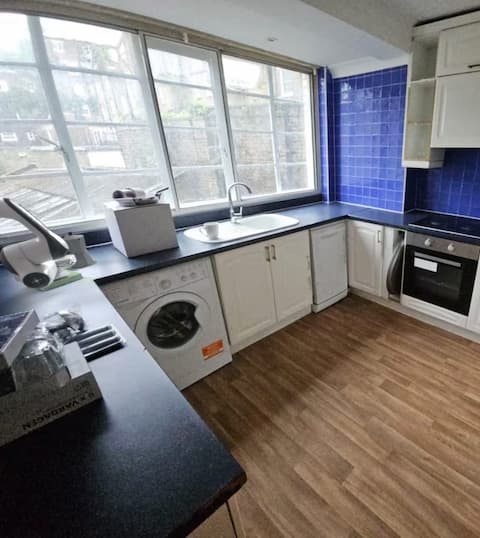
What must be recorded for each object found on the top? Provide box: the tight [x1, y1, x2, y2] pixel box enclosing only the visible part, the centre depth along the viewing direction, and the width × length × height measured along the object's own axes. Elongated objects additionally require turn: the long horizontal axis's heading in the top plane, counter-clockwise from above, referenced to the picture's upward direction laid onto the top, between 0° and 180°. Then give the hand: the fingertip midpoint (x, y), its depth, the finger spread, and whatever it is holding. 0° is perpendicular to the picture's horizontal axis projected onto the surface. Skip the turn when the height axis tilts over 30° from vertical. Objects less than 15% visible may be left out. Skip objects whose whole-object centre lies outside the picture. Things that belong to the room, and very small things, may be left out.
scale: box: [38, 268, 83, 292], centre depth 136 cm, size 14×14×3 cm
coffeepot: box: [61, 231, 95, 269], centre depth 153 cm, size 15×9×18 cm, turn 67°
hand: (46, 260), depth 133 cm, fingers closed on can, 7 cm apart
